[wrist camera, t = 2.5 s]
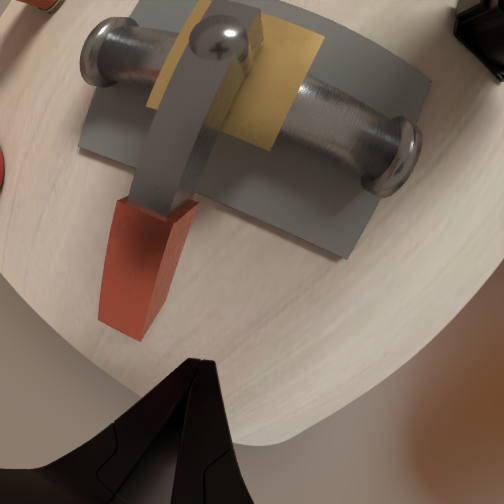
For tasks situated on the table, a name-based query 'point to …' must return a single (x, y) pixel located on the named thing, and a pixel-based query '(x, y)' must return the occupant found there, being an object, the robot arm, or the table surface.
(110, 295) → the lever
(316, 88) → the valve body
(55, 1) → the lighter
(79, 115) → the table surface
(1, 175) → the beer can
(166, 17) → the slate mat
